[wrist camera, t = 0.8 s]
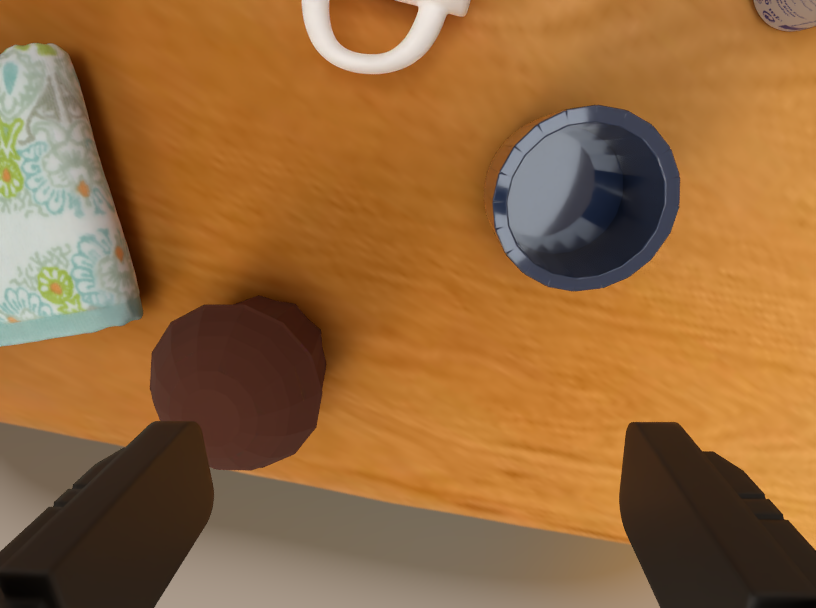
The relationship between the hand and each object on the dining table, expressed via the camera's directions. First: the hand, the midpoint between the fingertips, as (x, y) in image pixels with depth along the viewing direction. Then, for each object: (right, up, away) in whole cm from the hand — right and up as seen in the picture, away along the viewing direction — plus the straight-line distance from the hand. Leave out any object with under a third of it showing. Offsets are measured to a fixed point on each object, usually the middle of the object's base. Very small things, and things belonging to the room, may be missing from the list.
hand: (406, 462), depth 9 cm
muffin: (-11, 0, +29) cm, 31 cm away
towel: (-30, +10, +27) cm, 42 cm away
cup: (+10, +10, +23) cm, 27 cm away
